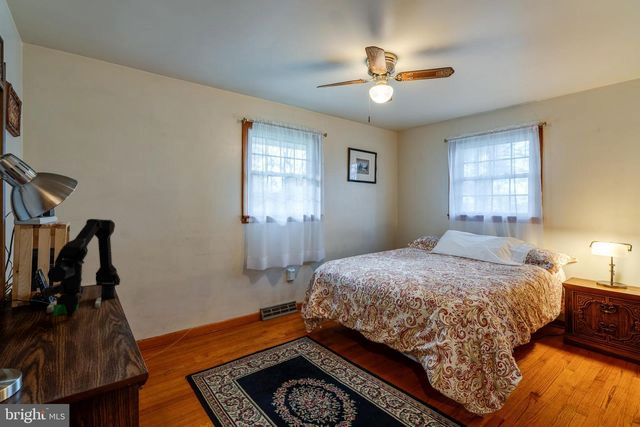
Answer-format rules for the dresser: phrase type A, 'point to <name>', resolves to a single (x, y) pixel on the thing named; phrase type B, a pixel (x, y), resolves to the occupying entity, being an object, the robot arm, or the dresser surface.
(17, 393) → the dresser surface
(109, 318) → the dresser surface
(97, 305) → the slot rails
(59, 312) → the pipe clamp
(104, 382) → the dresser surface
